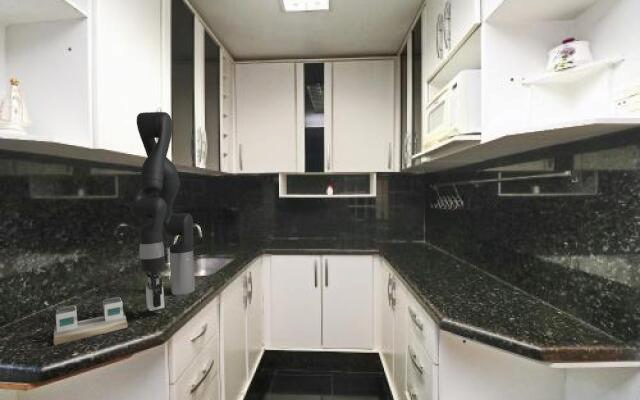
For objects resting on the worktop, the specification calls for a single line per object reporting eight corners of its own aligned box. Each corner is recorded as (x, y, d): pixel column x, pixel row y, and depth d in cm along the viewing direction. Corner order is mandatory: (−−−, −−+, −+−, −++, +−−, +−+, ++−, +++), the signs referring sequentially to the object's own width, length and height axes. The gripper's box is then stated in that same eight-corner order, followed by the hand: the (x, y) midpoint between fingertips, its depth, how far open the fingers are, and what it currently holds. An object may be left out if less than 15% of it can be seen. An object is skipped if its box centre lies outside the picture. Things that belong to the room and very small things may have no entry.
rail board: (55, 331, 102) (54, 306, 102) (122, 316, 113) (121, 293, 113) (53, 345, 93) (52, 317, 92) (127, 327, 103) (126, 302, 103)
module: (146, 306, 115) (145, 285, 115) (160, 303, 118) (159, 282, 117) (149, 311, 111) (148, 288, 110) (164, 307, 113) (163, 286, 113)
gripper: (169, 257, 110) (172, 307, 111) (159, 251, 121) (162, 296, 122) (143, 260, 105) (147, 313, 106) (136, 254, 117) (139, 301, 118)
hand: (155, 303), depth 114 cm, fingers closed on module, 5 cm apart
